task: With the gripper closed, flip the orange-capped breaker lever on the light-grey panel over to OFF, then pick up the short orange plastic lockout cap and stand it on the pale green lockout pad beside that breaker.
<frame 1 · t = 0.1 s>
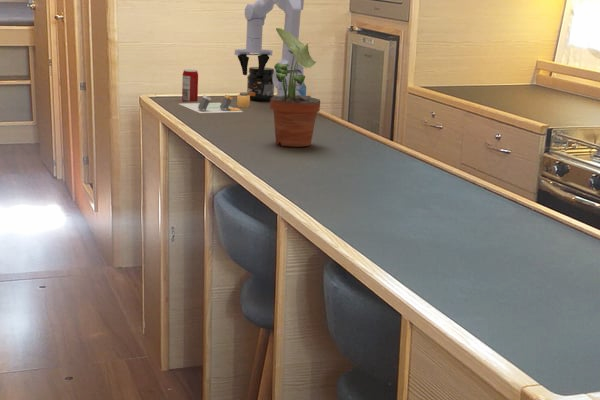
hand: (252, 74, 330), 10 cm above the counter, fingers open, 6 cm apart
potted plant: (293, 146, 256), on the counter
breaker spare: (204, 103, 299), point 4 cm above the counter, hinge at 25.0°
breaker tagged: (226, 103, 302), point 4 cm above the counter, hinge at 25.0°
supplement container: (260, 100, 340), on the counter, touching gripper
lockout cap: (243, 109, 314), on the counter
perfume bottle: (294, 103, 337), on the counter
soda can: (189, 103, 323), on the counter
panel: (210, 111, 307), on the counter
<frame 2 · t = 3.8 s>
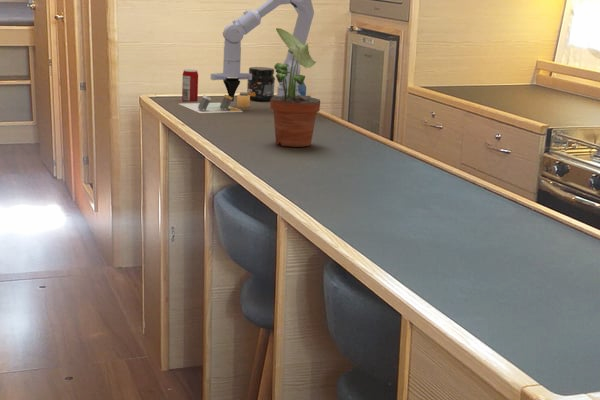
hand: (230, 100, 303), 4 cm above the counter, fingers closed, pressing on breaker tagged
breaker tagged: (225, 102, 302), point 4 cm above the counter, hinge at 23.4°, touching gripper
supplement container: (260, 100, 340), on the counter
everything else where it was.
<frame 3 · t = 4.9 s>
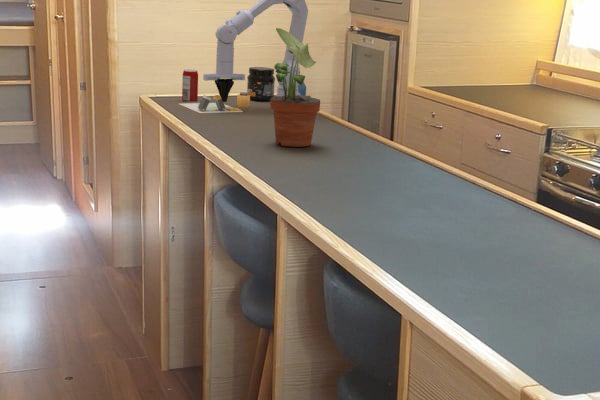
hand: (223, 101, 302), 4 cm above the counter, fingers closed
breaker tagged: (219, 103, 301), point 4 cm above the counter, hinge at -26.8°
everything else where it was.
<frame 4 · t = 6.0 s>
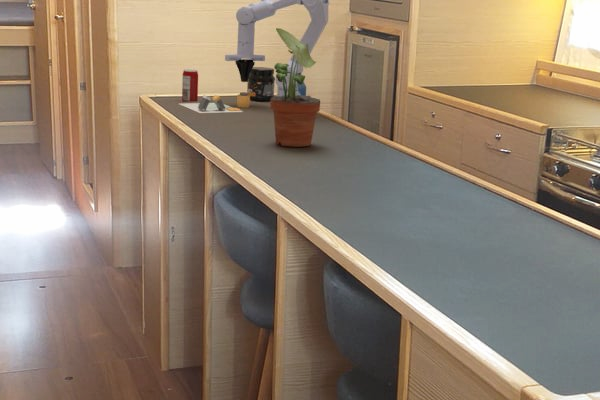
hand: (244, 81, 311), 10 cm above the counter, fingers closed
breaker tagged: (219, 103, 301), point 4 cm above the counter, hinge at -31.2°
everything else where it was.
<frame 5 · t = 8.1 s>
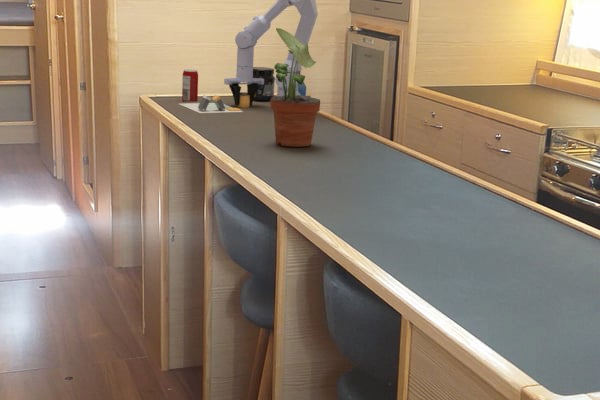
hand: (243, 104, 313), 2 cm above the counter, fingers closed on lockout cap, 4 cm apart
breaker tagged: (219, 103, 301), point 4 cm above the counter, hinge at -31.7°
lockout cap: (243, 109, 314), on the counter, touching gripper
everything else where it was.
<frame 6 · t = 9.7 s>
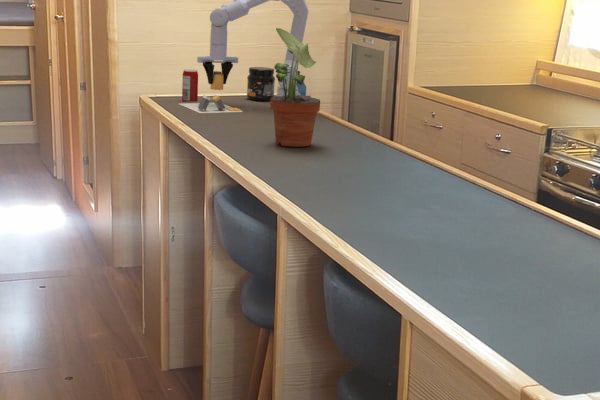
hand: (217, 83, 309), 9 cm above the counter, fingers closed on lockout cap, 4 cm apart
lockout cap: (216, 89, 309), point 7 cm above the counter, touching gripper
everything else where it was.
when the fingers open (4 cm above the counter, at t = 11.2 s): lockout cap stays where it is, resting on panel.
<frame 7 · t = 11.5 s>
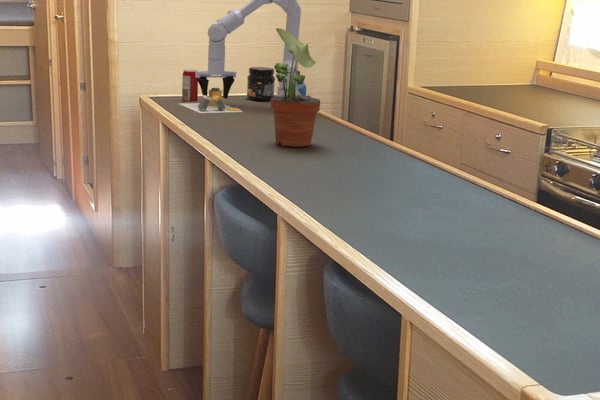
hand: (215, 98, 310), 4 cm above the counter, fingers open, 7 cm apart
lockout cap: (214, 105, 310), point 1 cm above the counter, touching panel
everything else where it was.
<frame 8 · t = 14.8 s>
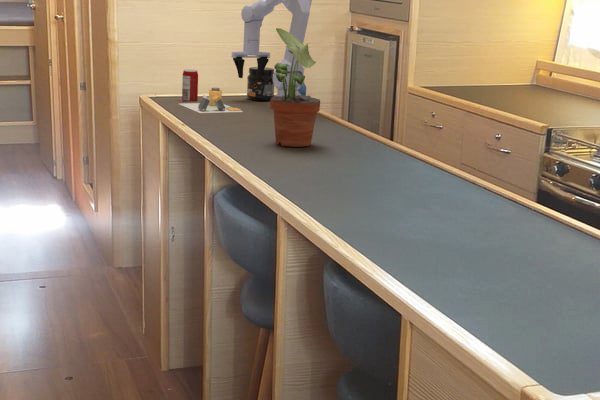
hand: (250, 77, 323), 10 cm above the counter, fingers open, 7 cm apart
nothing on the counter moved.
at the end: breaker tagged at -32° (first picture: +25°); lockout cap inside the target area (0.1 cm from its centre), point 1.5 cm above the counter; lockout cap tilted 2° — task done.
